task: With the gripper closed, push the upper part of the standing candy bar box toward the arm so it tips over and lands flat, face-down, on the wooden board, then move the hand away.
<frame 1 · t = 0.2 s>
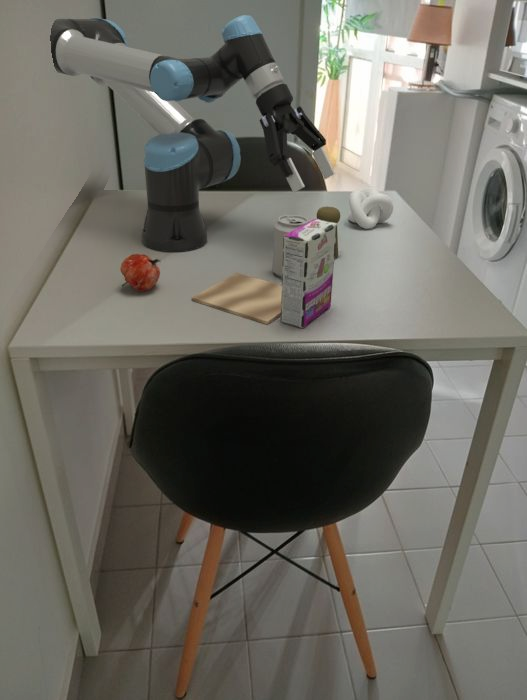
hand: (315, 183, 132), 16 cm above the table, tool tilted 35°, fingers open, 13 cm apart
pepper shaker: (324, 256, 138), on the table
pomegranate: (140, 289, 119), on the table
wooden board: (250, 298, 117), on the table
candy bar box: (305, 315, 112), on the table
white knot sculpture: (364, 225, 158), on the table
can: (290, 274, 128), on the table
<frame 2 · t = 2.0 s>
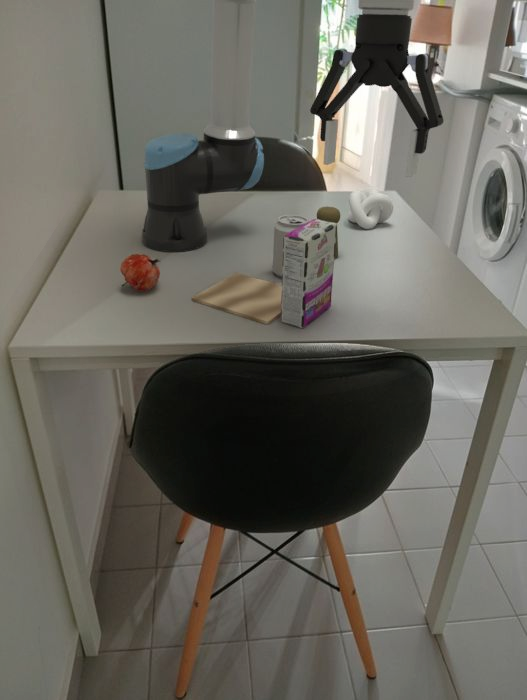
hand: (368, 169, 95), 27 cm above the table, tool pointing down, fingers open, 13 cm apart
nothing on the table moved.
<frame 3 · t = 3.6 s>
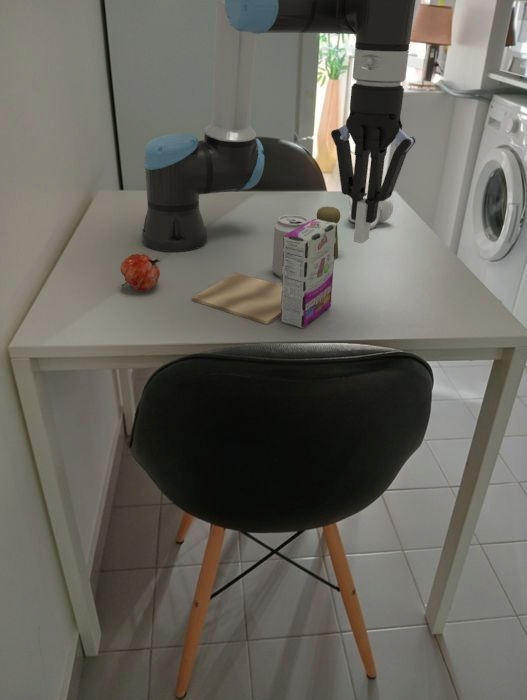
hand: (361, 240, 99), 16 cm above the table, tool pointing down, fingers closed
nothing on the table moved.
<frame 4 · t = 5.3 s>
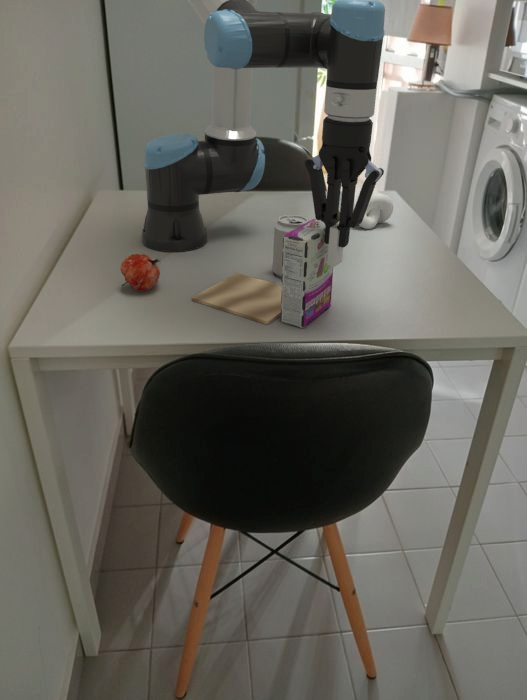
hand: (334, 263, 104), 11 cm above the table, tool pointing down, fingers closed
candy bar box: (305, 315, 112), on the table, touching gripper
everything else where it was.
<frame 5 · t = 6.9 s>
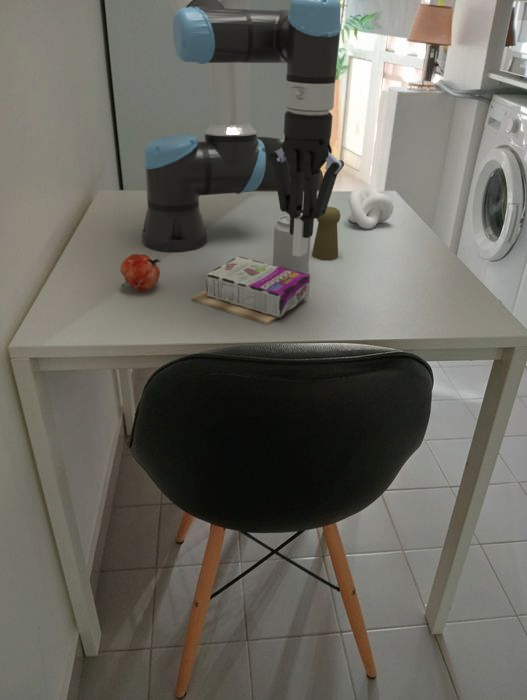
hand: (299, 253, 107), 11 cm above the table, tool pointing down, fingers closed
candy bar box: (296, 297, 111), point 3 cm above the table, touching wooden board
everything else where it was.
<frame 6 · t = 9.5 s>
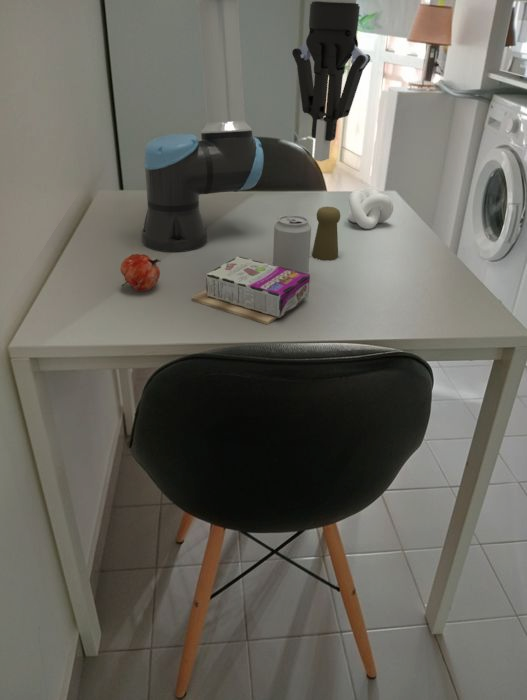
hand: (321, 159, 104), 26 cm above the table, tool pointing down, fingers closed
nothing on the table moved.
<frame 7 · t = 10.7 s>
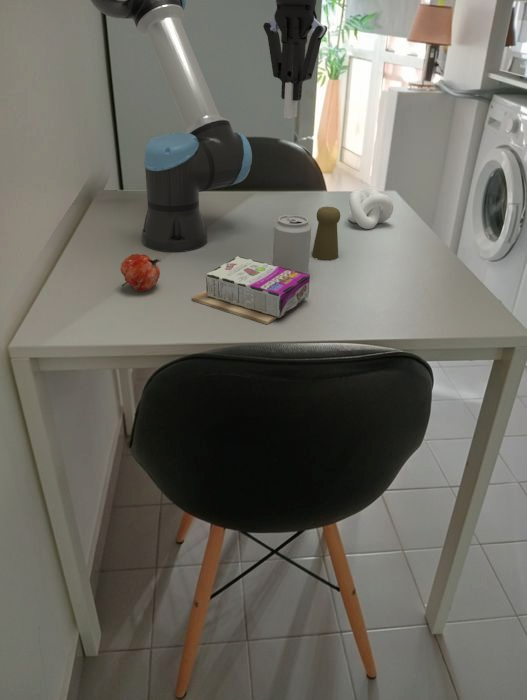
hand: (290, 117, 123), 29 cm above the table, tool pointing down, fingers closed
nothing on the table moved.
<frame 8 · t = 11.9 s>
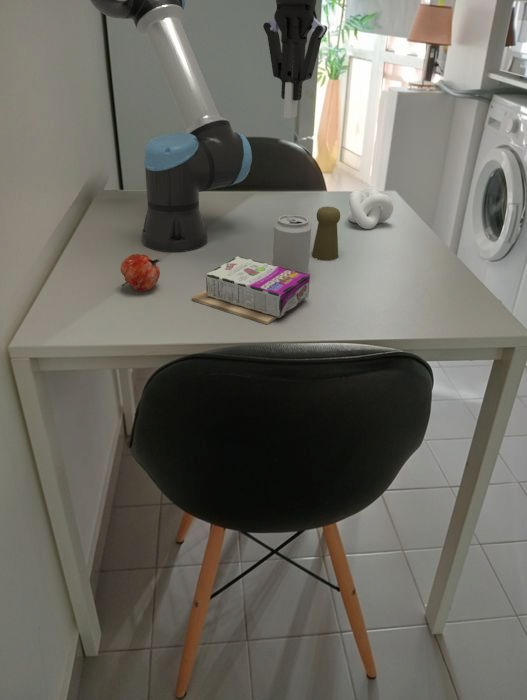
hand: (290, 117, 123), 29 cm above the table, tool pointing down, fingers closed
nothing on the table moved.
at the end: candy bar box tilted 89°; candy bar box 10.0 cm from the wooden board (horizontally); candy bar box point 3.0 cm above the table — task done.
